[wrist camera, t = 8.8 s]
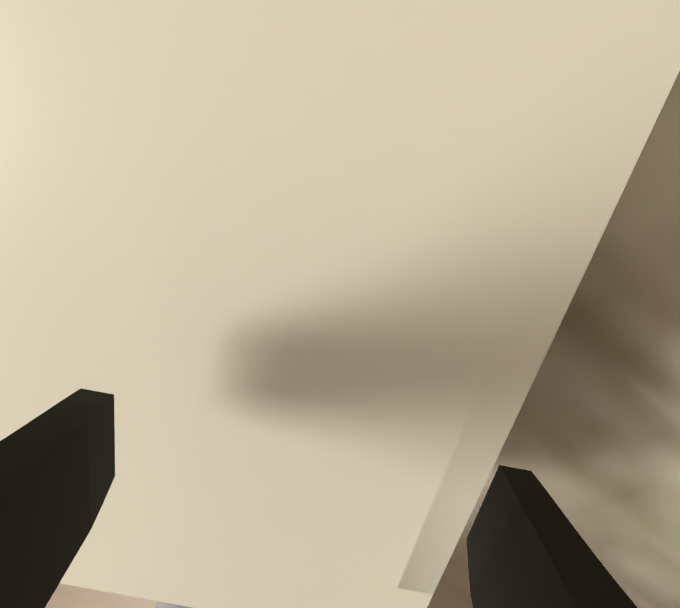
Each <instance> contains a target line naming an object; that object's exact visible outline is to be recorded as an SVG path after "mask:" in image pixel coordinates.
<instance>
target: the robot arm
mask: <svg viewBox="0 0 680 608" xmlns="http://www.w3.org/2000/svg"><path fill="white" fill-rule="evenodd" d="M114 477H115V426H114V394H109V393H103V392H98V391H92V390H87V389H79V390H77V391H76V392H74V393H73V394H71V395H70V396H68V397H66V398H65V399H63V400H62V401H60V402H59V403H57V404H56V405H54V406H53V407H51V408H50V409H48V410H47V411H45V412H44V413H42V414H41V415H39V416H37V417H36V418H34V419H33V420H31V421H30V422H28V423H27V424H25V425H24V426H22V427H21V428H19V429H18V430H16V431H15V432H13V433H12V434H10V435H9V436H7V437H6V438H4V439H2V440H1V441H0V608H45V606H46V605H47V603H48V601H49V600H50V598H51V596H52V594H53V593H54V591H55V589H56V588H57V586H58V584H59V583H60V581H61V579H62V578H63V576H64V574H65V573H66V571H67V569H68V568H69V566H70V564H71V563H72V561H73V559H74V558H75V556H76V554H77V553H78V551H79V549H80V547H81V546H82V544H83V542H84V541H85V539H86V537H87V535H88V534H89V532H90V530H91V529H92V526H93V524H94V522H95V520H96V518H97V516H98V513H99V511H100V509H101V507H102V505H103V503H104V500H105V498H106V496H107V493H108V491H109V489H110V486H111V484H112V482H113V480H114ZM467 550H468V567H469V579H470V591H471V598H472V604H473V608H637V607H636V606H635V604H634V603H633V602H632V601H631V599H630V598H629V597H628V596H627V595H626V593H625V592H624V591H623V590H622V589H621V587H620V586H619V585H618V584H617V582H616V581H615V580H614V579H613V577H612V576H611V575H610V574H609V572H608V571H607V570H606V568H605V567H604V566H603V565H602V563H601V562H600V561H599V560H598V558H597V557H596V556H595V554H594V553H593V552H592V551H591V549H590V548H589V547H588V545H587V544H586V543H585V541H584V540H583V539H582V537H581V536H580V535H579V533H578V532H577V531H576V529H575V528H574V527H573V526H572V524H571V523H570V522H569V520H568V519H567V518H566V516H565V515H564V514H563V512H562V511H561V510H560V508H559V507H558V506H557V504H556V503H555V502H554V500H553V499H552V497H551V496H550V495H549V493H548V492H547V491H546V490H545V488H544V487H543V486H542V484H541V483H540V482H539V480H538V479H537V478H536V477H535V475H534V474H533V473H532V472H531V471H528V470H522V469H517V468H512V467H506V466H501V465H499V467H498V470H497V472H496V474H495V476H494V478H493V481H492V483H491V485H490V487H489V490H488V492H487V494H486V496H485V499H484V501H483V503H482V505H481V508H480V510H479V512H478V514H477V517H476V519H475V521H474V523H473V526H472V528H471V530H470V532H469V535H468V537H467ZM156 608H192V607H187V606H181V605H176V604H170V603H165V602H160V601H158V604H157V606H156Z"/></svg>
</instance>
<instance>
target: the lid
mask: <svg viewBox="0 0 680 608" xmlns="http://www.w3.org/2000/svg"><path fill="white" fill-rule="evenodd" d="M679 71H680V0H0V441H1V440H2V439H4V438H6V437H7V436H9V435H10V434H12V433H13V432H15V431H16V430H18V429H19V428H21V427H22V426H24V425H25V424H27V423H28V422H30V421H31V420H33V419H34V418H36V417H37V416H39V415H41V414H42V413H44V412H45V411H47V410H48V409H50V408H51V407H53V406H54V405H56V404H57V403H59V402H60V401H62V400H63V399H65V398H66V397H68V396H70V395H71V394H73V393H74V392H76V391H77V390H79V389H87V390H92V391H98V392H103V393H109V394H114V426H115V477H114V480H113V482H112V484H111V486H110V489H109V491H108V493H107V496H106V498H105V500H104V503H103V505H102V507H101V509H100V511H99V513H98V516H97V518H96V520H95V522H94V524H93V526H92V529H91V530H90V532H89V534H88V535H87V537H86V539H85V541H84V542H83V544H82V546H81V547H80V549H79V551H78V553H77V554H76V556H75V558H74V559H73V561H72V563H71V564H70V566H69V568H68V569H67V571H66V573H65V574H64V576H63V578H62V579H61V581H60V583H62V584H67V585H72V586H78V587H83V588H89V589H94V590H100V591H105V592H111V593H116V594H121V595H127V596H132V597H138V598H143V599H149V600H154V601H160V602H165V603H170V604H176V605H181V606H187V607H192V608H427V606H428V604H429V602H430V600H431V598H432V596H433V594H434V592H435V589H436V587H437V585H438V583H439V581H440V579H441V577H442V575H443V572H444V570H445V568H446V566H447V564H448V562H449V560H450V558H451V556H452V553H453V551H454V549H455V547H456V545H457V543H458V541H459V539H460V536H461V534H462V532H463V530H464V528H465V526H466V524H467V522H468V519H469V517H470V515H471V513H472V511H473V509H474V507H475V505H476V502H477V500H478V498H479V496H480V494H481V492H482V490H483V488H484V485H485V483H486V481H487V479H488V477H489V475H490V473H491V471H492V468H493V466H494V464H495V462H496V460H497V458H498V456H499V454H500V451H501V449H502V447H503V445H504V443H505V441H506V439H507V437H508V434H509V432H510V430H511V428H512V426H513V424H514V422H515V420H516V417H517V415H518V413H519V411H520V409H521V407H522V405H523V403H524V400H525V398H526V396H527V394H528V392H529V390H530V388H531V386H532V383H533V381H534V379H535V377H536V375H537V373H538V371H539V369H540V366H541V364H542V362H543V360H544V358H545V356H546V354H547V352H548V349H549V347H550V345H551V343H552V341H553V339H554V337H555V335H556V333H557V330H558V328H559V326H560V324H561V322H562V320H563V318H564V316H565V313H566V311H567V309H568V307H569V305H570V303H571V301H572V299H573V296H574V294H575V292H576V290H577V288H578V286H579V284H580V282H581V279H582V277H583V275H584V273H585V271H586V269H587V267H588V265H589V262H590V260H591V258H592V256H593V254H594V252H595V250H596V248H597V245H598V243H599V241H600V239H601V237H602V235H603V233H604V231H605V228H606V226H607V224H608V222H609V220H610V218H611V216H612V214H613V211H614V209H615V207H616V205H617V203H618V201H619V199H620V197H621V194H622V192H623V190H624V188H625V186H626V184H627V182H628V180H629V177H630V175H631V173H632V171H633V169H634V167H635V165H636V163H637V160H638V158H639V156H640V154H641V152H642V150H643V148H644V146H645V143H646V141H647V139H648V137H649V135H650V133H651V131H652V129H653V127H654V124H655V122H656V120H657V118H658V116H659V114H660V112H661V110H662V107H663V105H664V103H665V101H666V99H667V97H668V95H669V93H670V90H671V88H672V86H673V84H674V82H675V80H676V78H677V76H678V73H679Z"/></svg>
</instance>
